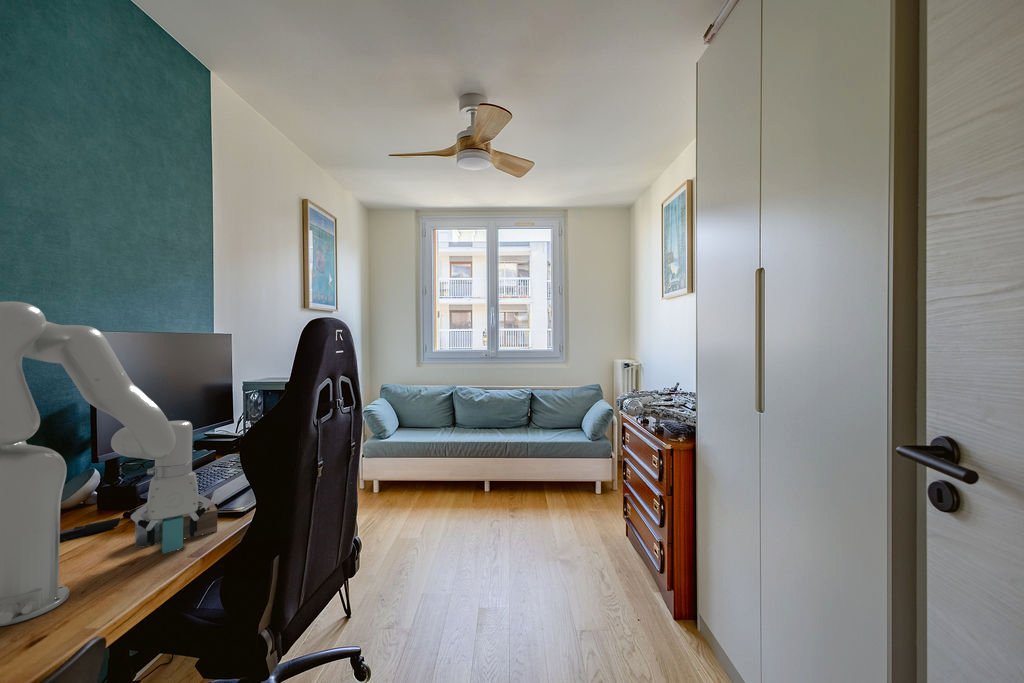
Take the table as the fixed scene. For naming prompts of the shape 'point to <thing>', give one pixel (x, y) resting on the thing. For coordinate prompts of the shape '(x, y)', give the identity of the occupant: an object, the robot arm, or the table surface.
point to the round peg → (142, 532)
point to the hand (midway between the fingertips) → (172, 539)
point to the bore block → (202, 522)
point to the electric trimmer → (89, 529)
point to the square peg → (172, 534)
